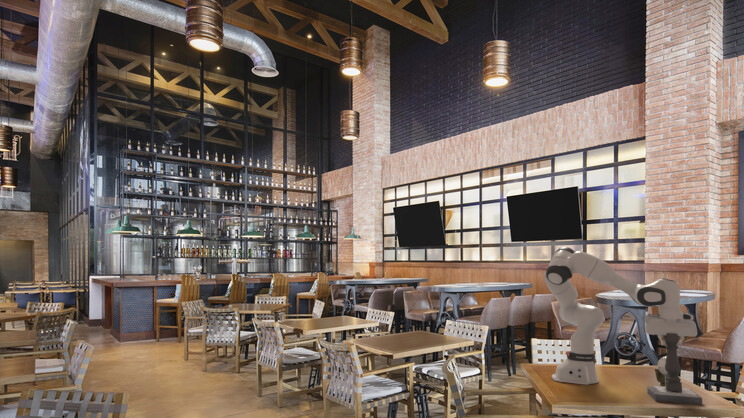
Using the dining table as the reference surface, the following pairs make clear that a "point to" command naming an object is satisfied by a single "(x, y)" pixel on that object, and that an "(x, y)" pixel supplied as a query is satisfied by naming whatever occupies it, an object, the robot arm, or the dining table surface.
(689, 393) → the scale pan
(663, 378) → the cup
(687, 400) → the scale base
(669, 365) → the candle holder
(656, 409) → the dining table surface
